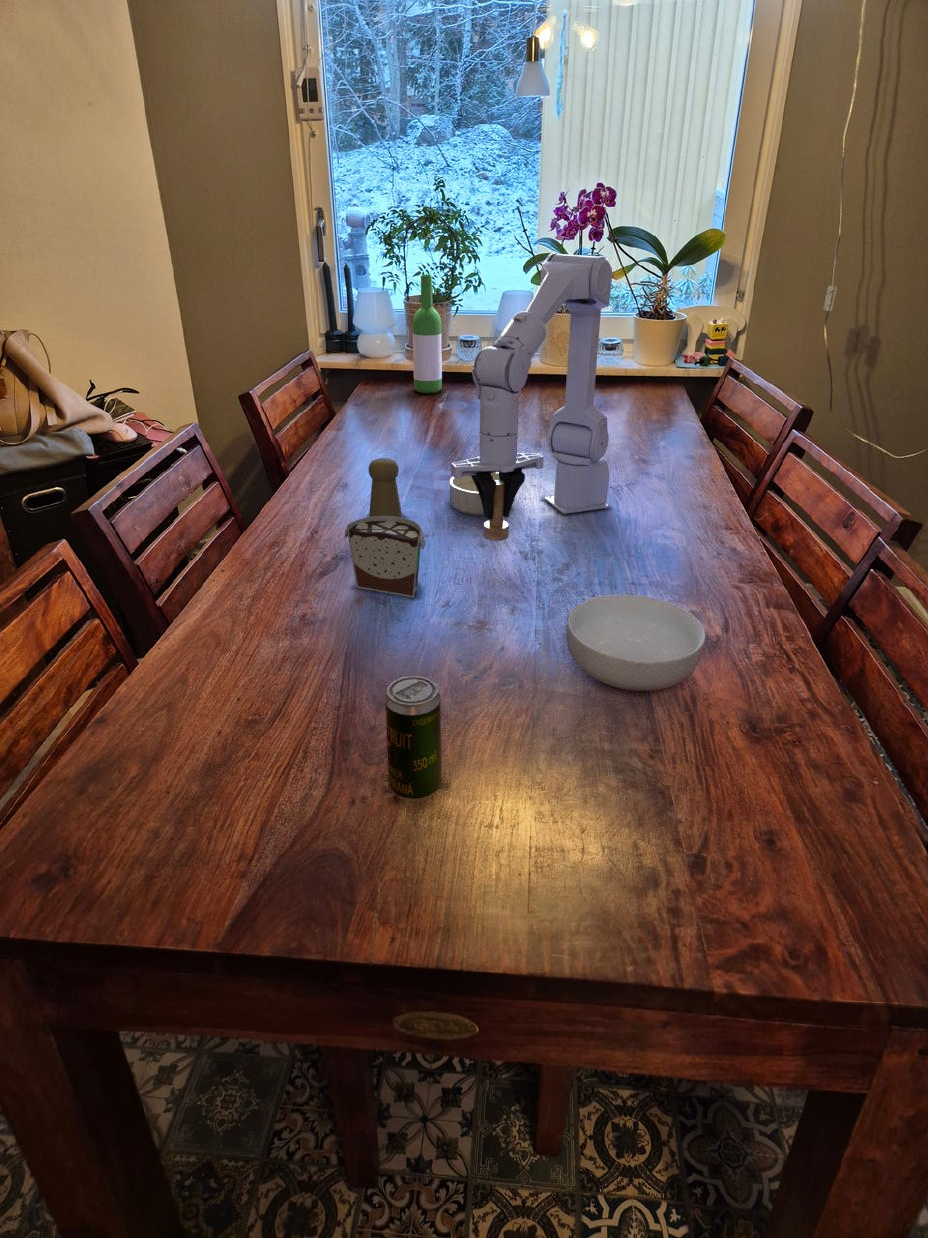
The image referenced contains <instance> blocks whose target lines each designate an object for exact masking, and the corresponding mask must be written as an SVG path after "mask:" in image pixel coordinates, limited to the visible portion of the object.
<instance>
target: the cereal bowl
mask: <svg viewBox="0 0 928 1238" xmlns="http://www.w3.org/2000/svg"><path fill="white" fill-rule="evenodd" d="M706 639H707V638H706V631H705V628H704V625H703V624H702V622H701V621H700V620H699V619H698V618H697V617H696V616H695V615H694V614H692V613H690V612H689V611H687V610H686V609H684V608H683V607H681V606H678V605H676V604H674V603H671V602H669V601H666V600H662V599H659V598H653V597H650V596H645V595H639V594H638V595H637V594H619V593H618V594H606V595H605V594H604V595H599V596H596V597H595V596H594V597H592V598H590V599H587V600H584V601H583V602H581V603H579V604H577V605H576V606H575V607H573V609H572V610H571V611H570V613H569V614H568V618H567V623H566V642H567V648H568V651H569V653H570V655H571V657H572V659H573V660H574V662H575V663H576V665H578V667H579V668H580V669H581V670H582V671H583V672H585V673H586V674H587V675H588V676H590V677H592V678H593V679H595V680H596V681H598V682H601V683H602V684H606V685H608V686H611V687H613V688H616V689H617V688H618V689H622V690H626V691H633V692H634V691H638V692H639V691H640V692H646V691H656V690H659V691H660V690H661V689H666V688H671V687H673V686H675V685H676V684H679V683H681V682H682V681H684V680H685V679H686V678H689V676H690V675H691V674H693V672H694V671H695V670H696V669H697V667H698V665H699V664H700V661H701V659H702V656H703V653H704V650H705V645H706Z"/></svg>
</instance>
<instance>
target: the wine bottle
mask: <svg viewBox="0 0 928 1238" xmlns="http://www.w3.org/2000/svg"><path fill="white" fill-rule="evenodd" d="M442 348H443V347H442V319H441V316H440V314H439V311H437V310H436V309H435V308H434V307H433V275H432V274H429V273H427V274H426V273H425V274H421V275H420V308H418V310H416V311H415V314H414V315H413V318H412V357H413V358H412V361H413V362H412V364H413V388H414V390H415V392H416V393H417V392H418V393H420V394H435V393H439V392H440V391H441V390H442V386H443V369H442V368H443V367H442V365H443V363H442V362H443V361H442V359H443V358H442V357H443V355H442V353H443V352H442Z"/></svg>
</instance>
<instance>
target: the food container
mask: <svg viewBox="0 0 928 1238" xmlns="http://www.w3.org/2000/svg"><path fill="white" fill-rule="evenodd" d="M346 538H348V545H349V551H350V557H351V562H352V569H353V575H354V581H355V586H356V589H362V590H367V591H374V592H378V593H383V594H384V593H385V594H389V595H390V594H391V595H396V596H402V597H408V598H413V599H414V598H415V597H416V596H417V593H418V582H419V572H420V571H419V569H420V561H421V559H420V558H421V551H423V550H424V549H425V547H426V538H425V534H424V531H423V529H422V527H421V526H420V525H419V523H418V522H416V521H414V520H412V519H410V518H405V517H403V516H402V517H396V516H373V517H369V516H367V517H363V518H359V519H356V520H353V521H352V522H349V523H347V524H346V528H345V530H344V539H346Z"/></svg>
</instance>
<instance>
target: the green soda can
mask: <svg viewBox="0 0 928 1238" xmlns="http://www.w3.org/2000/svg"><path fill="white" fill-rule="evenodd" d="M441 701H442V699H441V694H440V693H439V687H438V685H437V683H436V682H435V681H433V680H431V679H430V678H428V677H424V676H419V675H407V676H403V677H399V678H397V679H394V680H393V681H392V682H391V683H389V684H388V686H387V688H386V694H385V697H384V703H385V704H384V708H385V729H386V750H387V752H386V753H387V770H388V786H389V788H390V790H391V791H392V793H393V794H394V795H395V797H397V798H398V799H399V800H401V801H404V802H409V803H421V802H424V801H427V800H429V799H431V798H433V797H434V796H435V795H436V794H437V792H438V790H439V789H440V786H441V784H442V711H441V710H442V709H441V708H442V707H441V706H442V705H441V703H442V702H441Z"/></svg>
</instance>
